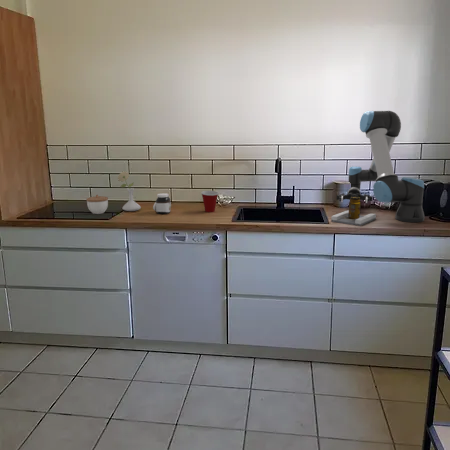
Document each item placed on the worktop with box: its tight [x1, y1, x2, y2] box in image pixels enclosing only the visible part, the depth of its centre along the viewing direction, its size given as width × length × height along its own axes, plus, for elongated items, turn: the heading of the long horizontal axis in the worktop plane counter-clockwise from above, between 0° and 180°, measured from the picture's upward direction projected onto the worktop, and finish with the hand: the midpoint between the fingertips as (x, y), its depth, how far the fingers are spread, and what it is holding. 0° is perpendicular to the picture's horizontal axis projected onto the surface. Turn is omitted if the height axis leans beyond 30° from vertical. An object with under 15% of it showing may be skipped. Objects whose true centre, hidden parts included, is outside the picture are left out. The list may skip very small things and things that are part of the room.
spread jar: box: [152, 192, 172, 215], centre depth 277 cm, size 12×11×12 cm
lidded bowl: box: [86, 194, 109, 215], centre depth 278 cm, size 13×13×11 cm
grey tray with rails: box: [330, 209, 377, 227], centre depth 253 cm, size 17×20×3 cm
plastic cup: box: [200, 190, 220, 213], centre depth 279 cm, size 11×11×12 cm
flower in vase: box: [117, 170, 142, 212], centre depth 282 cm, size 13×11×25 cm
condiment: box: [344, 197, 361, 220], centre depth 252 cm, size 7×8×12 cm
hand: (354, 200), depth 260 cm, fingers open, 13 cm apart
